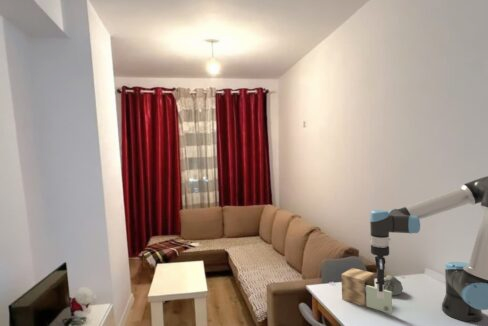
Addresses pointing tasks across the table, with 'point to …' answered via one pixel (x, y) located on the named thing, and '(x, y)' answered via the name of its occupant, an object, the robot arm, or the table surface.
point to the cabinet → (356, 285)
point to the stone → (393, 285)
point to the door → (378, 299)
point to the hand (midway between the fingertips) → (380, 297)
